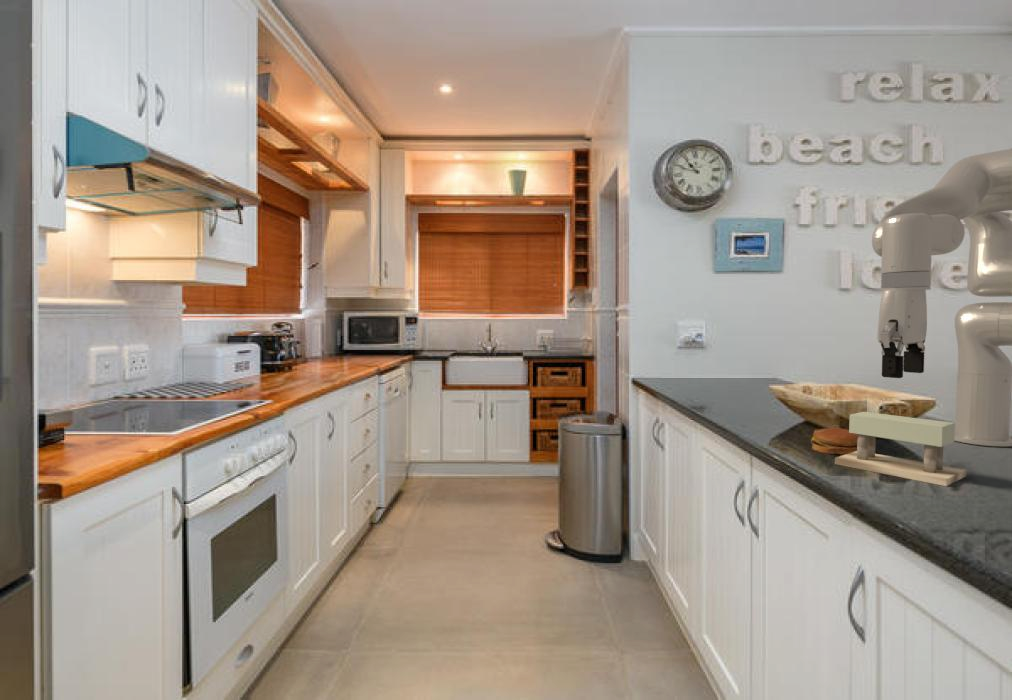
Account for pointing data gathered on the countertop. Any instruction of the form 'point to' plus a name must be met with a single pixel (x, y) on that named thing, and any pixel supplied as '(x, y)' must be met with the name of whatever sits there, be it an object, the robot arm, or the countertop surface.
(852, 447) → the burger
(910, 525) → the countertop surface
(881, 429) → the shelf board
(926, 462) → the peg rack
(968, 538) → the countertop surface
